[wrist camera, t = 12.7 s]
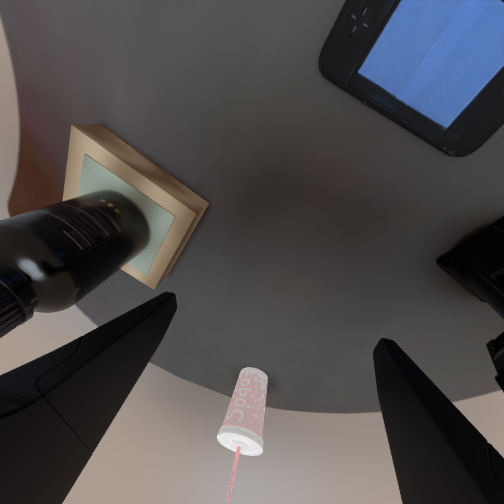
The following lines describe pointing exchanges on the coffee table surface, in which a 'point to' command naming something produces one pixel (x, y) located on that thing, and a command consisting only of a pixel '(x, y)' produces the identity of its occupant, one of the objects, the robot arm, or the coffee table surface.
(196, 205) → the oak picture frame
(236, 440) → the beverage cup
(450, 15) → the handheld game console
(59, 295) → the supplement bottle
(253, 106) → the coffee table surface
